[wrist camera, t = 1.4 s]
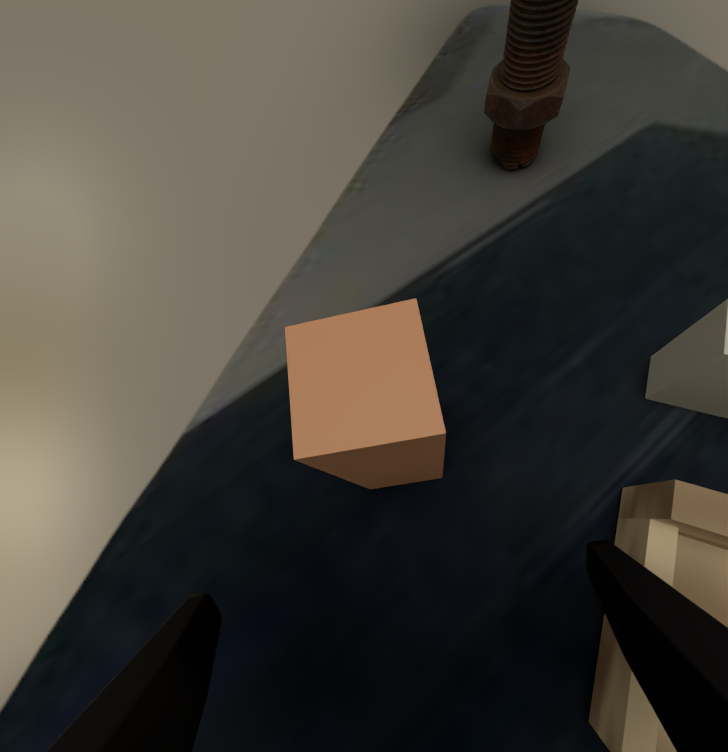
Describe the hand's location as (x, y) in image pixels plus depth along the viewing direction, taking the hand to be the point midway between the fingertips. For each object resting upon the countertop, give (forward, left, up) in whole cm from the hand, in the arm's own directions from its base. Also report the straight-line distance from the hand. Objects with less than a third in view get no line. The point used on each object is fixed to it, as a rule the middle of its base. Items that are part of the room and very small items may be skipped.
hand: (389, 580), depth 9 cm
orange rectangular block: (+2, +4, -12) cm, 13 cm away
